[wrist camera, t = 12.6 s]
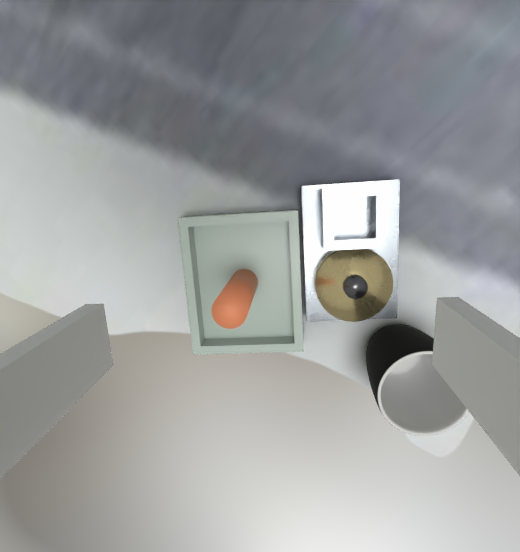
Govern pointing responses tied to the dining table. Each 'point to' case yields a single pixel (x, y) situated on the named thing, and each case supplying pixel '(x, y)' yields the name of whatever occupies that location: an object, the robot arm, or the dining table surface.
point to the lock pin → (235, 299)
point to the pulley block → (351, 250)
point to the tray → (253, 256)
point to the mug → (411, 382)
